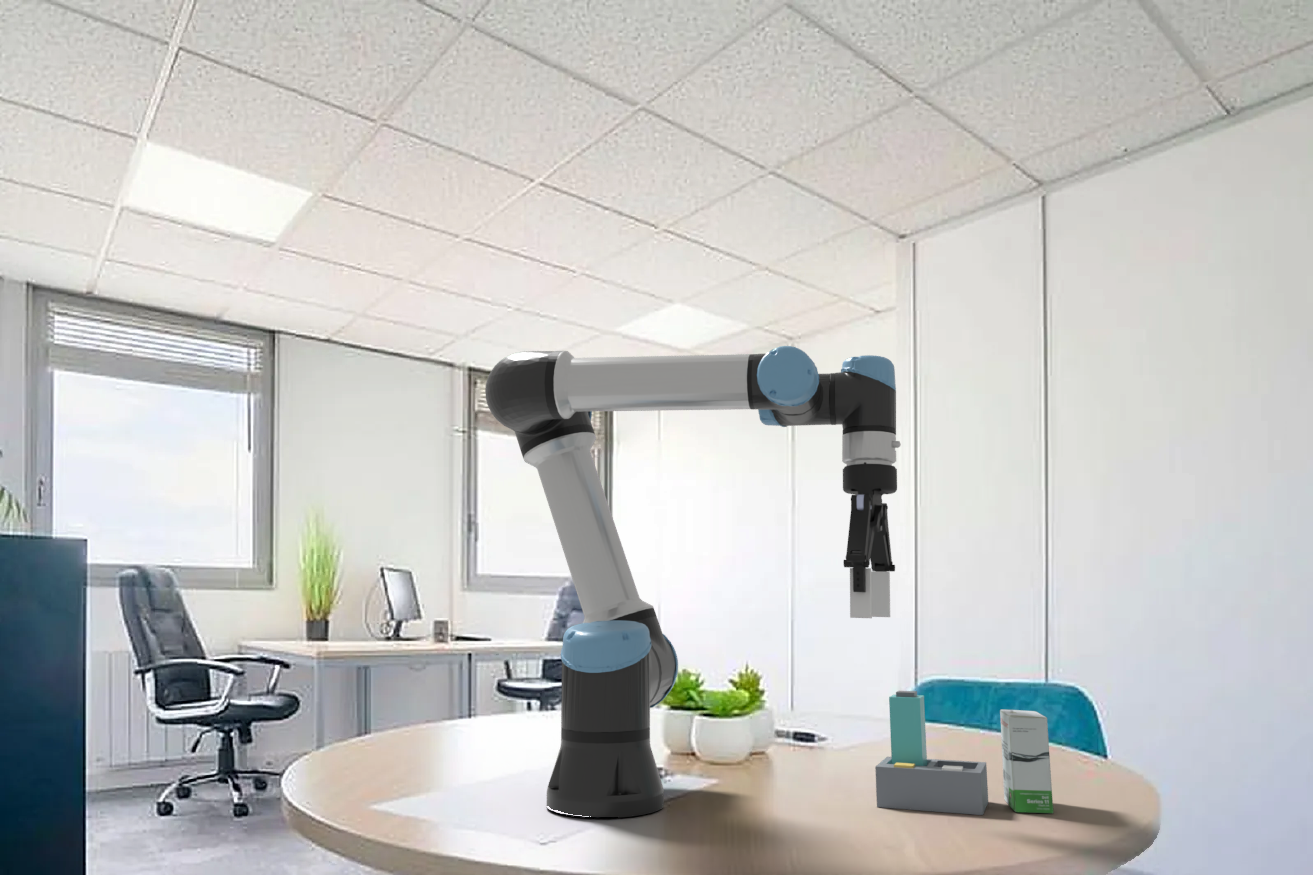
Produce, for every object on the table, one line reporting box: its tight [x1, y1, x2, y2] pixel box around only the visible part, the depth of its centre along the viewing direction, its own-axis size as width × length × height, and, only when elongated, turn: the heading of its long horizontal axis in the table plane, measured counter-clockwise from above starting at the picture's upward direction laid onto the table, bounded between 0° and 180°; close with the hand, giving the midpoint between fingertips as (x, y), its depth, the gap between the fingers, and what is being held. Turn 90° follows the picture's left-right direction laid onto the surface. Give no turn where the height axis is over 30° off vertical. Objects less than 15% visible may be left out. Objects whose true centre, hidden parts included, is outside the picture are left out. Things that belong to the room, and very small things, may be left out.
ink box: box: [999, 709, 1054, 814], centre depth 127 cm, size 9×5×12 cm, turn 168°
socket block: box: [875, 756, 989, 816], centre depth 129 cm, size 13×9×5 cm
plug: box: [888, 690, 928, 766], centre depth 131 cm, size 4×4×14 cm
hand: (871, 617), depth 136 cm, fingers open, 13 cm apart
